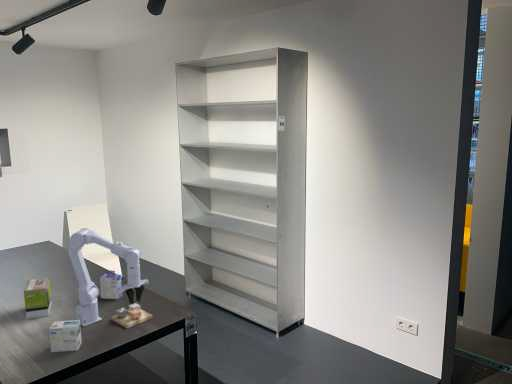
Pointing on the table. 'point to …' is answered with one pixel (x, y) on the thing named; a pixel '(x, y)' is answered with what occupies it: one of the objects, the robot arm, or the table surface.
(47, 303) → the tea box
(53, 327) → the light bulb box
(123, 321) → the button board
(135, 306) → the tile two
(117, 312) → the tile three
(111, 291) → the ink cartridge box
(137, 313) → the tile one
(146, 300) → the table surface
